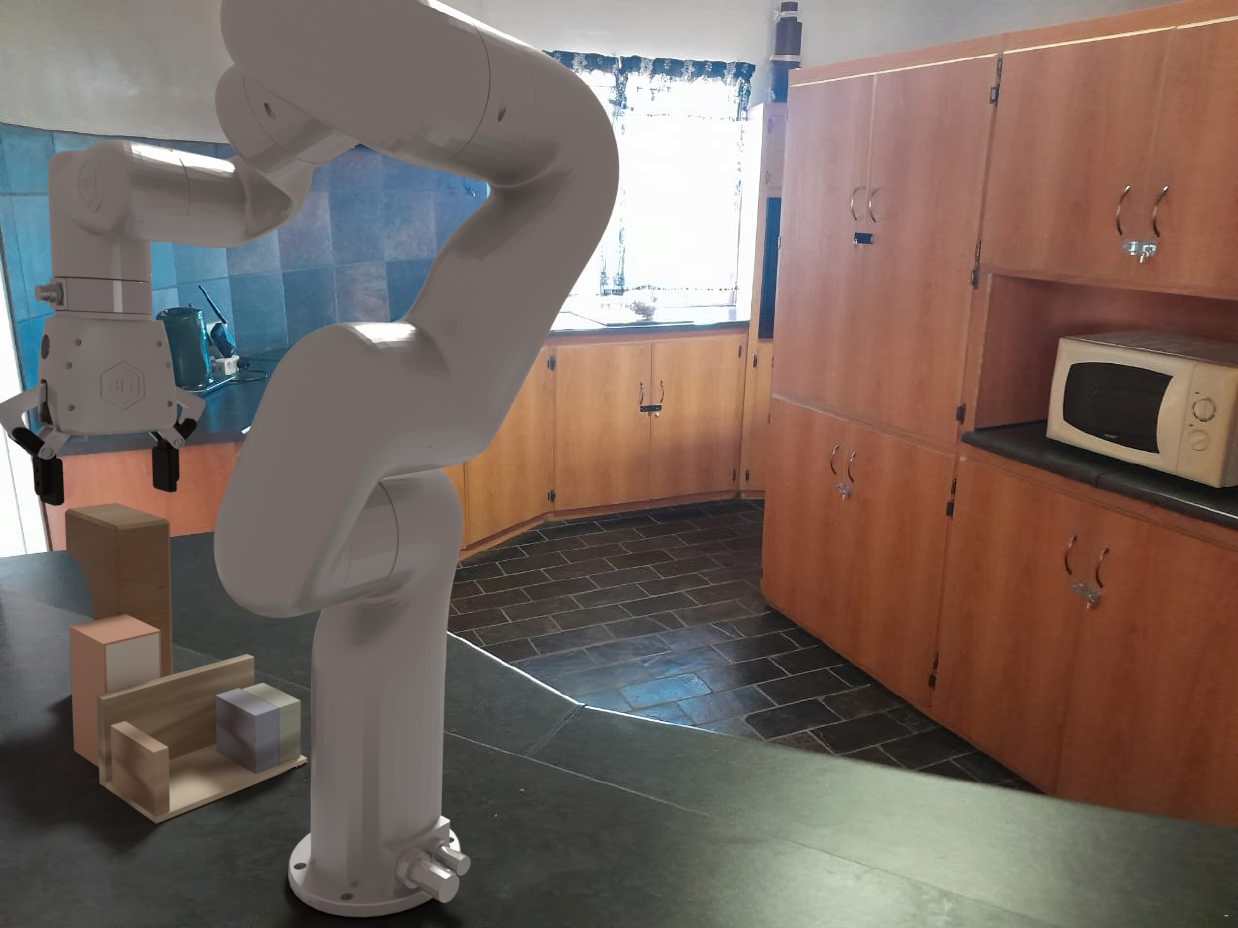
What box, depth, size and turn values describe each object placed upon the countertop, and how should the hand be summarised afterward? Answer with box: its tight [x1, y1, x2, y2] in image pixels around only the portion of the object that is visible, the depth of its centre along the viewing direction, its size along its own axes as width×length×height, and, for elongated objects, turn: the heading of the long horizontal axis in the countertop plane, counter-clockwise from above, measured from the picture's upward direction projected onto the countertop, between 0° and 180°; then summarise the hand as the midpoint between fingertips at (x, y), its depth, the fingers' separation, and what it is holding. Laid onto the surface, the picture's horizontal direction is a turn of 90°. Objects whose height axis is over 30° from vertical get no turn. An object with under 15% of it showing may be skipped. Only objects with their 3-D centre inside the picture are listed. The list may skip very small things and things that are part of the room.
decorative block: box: [64, 502, 174, 689], centre depth 95 cm, size 11×6×20 cm, turn 52°
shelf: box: [97, 653, 308, 824], centre depth 82 cm, size 10×14×8 cm
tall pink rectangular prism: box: [68, 614, 162, 768], centre depth 85 cm, size 6×5×12 cm
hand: (111, 496), depth 82 cm, fingers open, 9 cm apart
